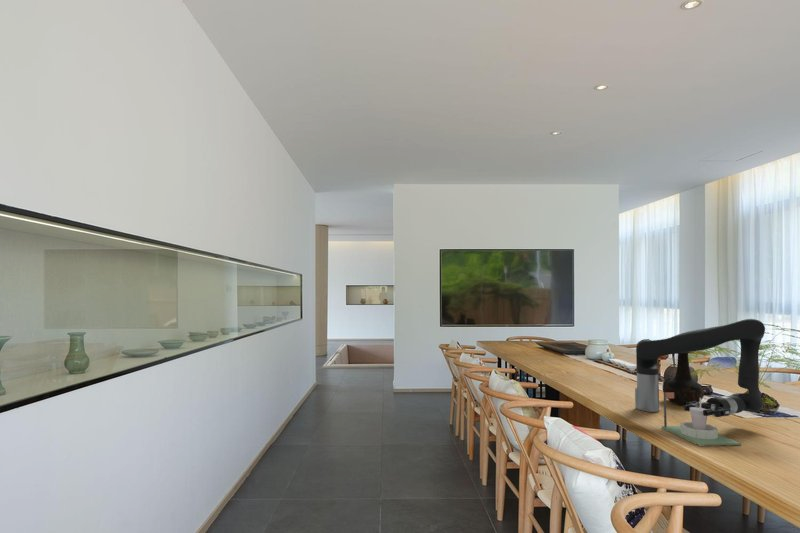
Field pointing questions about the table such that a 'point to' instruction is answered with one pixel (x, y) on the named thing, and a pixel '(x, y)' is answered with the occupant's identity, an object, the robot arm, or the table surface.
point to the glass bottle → (683, 383)
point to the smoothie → (698, 418)
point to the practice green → (696, 431)
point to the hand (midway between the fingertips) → (694, 410)
